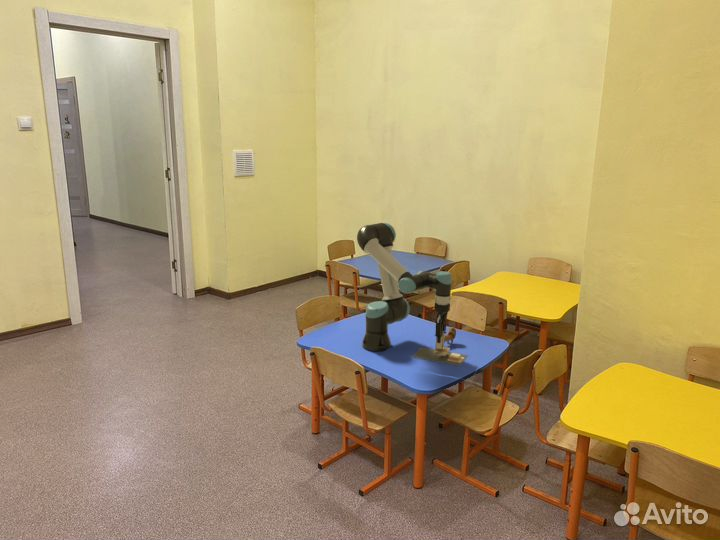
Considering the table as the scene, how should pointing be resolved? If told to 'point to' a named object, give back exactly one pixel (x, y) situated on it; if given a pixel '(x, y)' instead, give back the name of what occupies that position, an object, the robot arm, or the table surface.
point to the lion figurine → (450, 335)
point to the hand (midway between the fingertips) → (439, 346)
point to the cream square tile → (455, 357)
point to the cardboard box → (444, 349)
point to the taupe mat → (438, 356)
